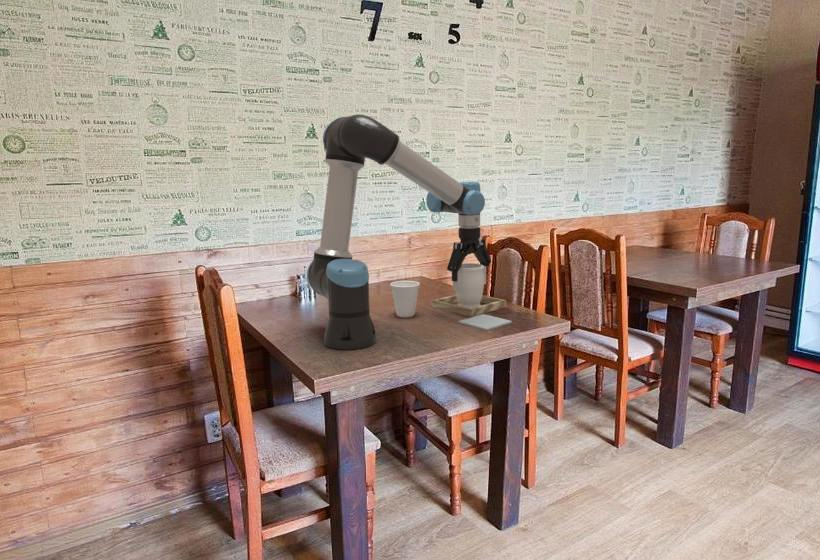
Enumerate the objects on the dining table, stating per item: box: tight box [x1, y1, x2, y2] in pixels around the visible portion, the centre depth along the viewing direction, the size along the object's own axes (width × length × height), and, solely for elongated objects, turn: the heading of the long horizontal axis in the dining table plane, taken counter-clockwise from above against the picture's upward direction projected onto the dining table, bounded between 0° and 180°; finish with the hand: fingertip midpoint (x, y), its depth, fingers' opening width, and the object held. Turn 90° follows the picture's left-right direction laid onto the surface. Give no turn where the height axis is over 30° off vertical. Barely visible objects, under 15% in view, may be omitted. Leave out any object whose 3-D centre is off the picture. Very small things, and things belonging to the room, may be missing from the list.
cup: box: [389, 280, 421, 318], centre depth 186 cm, size 10×10×11 cm
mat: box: [458, 313, 513, 332], centre depth 176 cm, size 12×12×1 cm
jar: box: [455, 262, 485, 308], centre depth 195 cm, size 11×10×15 cm
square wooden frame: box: [431, 294, 507, 318], centre depth 196 cm, size 18×18×2 cm
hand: (469, 287), depth 195 cm, fingers open, 13 cm apart
